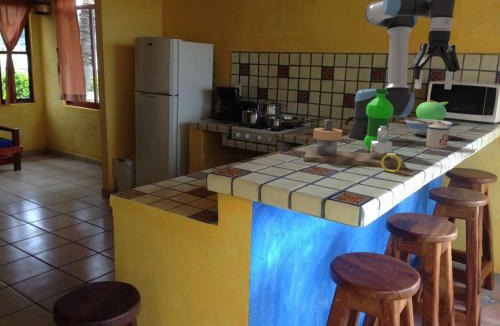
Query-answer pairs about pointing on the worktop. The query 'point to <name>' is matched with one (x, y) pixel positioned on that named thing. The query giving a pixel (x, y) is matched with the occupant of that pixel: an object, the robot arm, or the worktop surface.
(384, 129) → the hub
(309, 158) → the tool board
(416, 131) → the ramen bowl
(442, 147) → the teacup with lid
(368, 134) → the plastic bottle
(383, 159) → the watch
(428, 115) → the green pumpkin
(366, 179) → the worktop surface
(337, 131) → the octagonal notched ring
